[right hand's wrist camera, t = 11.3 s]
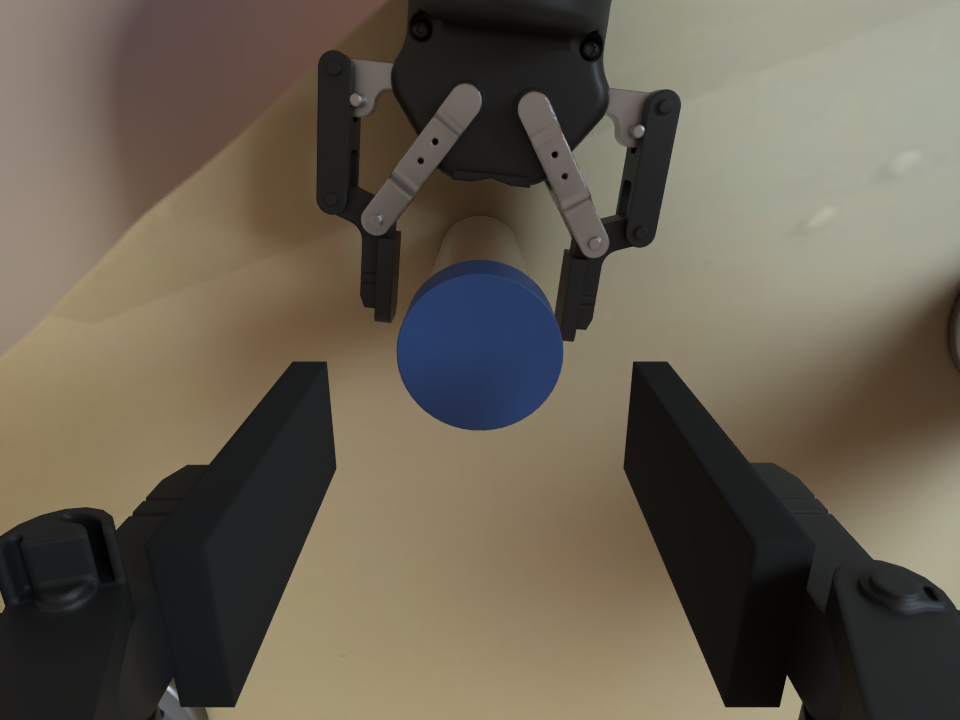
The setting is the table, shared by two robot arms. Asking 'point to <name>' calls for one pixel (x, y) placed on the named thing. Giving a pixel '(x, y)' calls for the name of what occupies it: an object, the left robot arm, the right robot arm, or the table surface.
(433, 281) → the lid
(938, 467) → the table surface
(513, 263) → the bottle
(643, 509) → the right robot arm
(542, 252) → the table surface
